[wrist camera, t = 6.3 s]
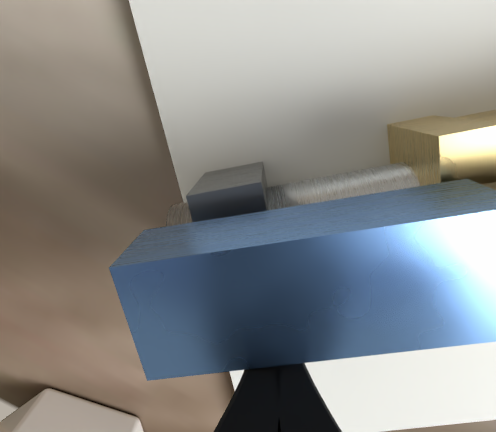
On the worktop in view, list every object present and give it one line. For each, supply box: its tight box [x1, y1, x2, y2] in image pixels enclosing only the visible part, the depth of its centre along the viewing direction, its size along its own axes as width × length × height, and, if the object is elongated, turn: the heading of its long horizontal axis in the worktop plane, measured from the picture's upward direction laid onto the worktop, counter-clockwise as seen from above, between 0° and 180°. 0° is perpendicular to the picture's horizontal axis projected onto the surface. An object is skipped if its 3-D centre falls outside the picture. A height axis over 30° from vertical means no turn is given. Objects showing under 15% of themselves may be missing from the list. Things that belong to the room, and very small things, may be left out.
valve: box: [166, 109, 496, 227], centre depth 10 cm, size 18×5×4 cm, turn 102°
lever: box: [109, 179, 496, 381], centre depth 7 cm, size 13×3×2 cm, turn 101°
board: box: [129, 0, 496, 432], centre depth 12 cm, size 18×19×1 cm
